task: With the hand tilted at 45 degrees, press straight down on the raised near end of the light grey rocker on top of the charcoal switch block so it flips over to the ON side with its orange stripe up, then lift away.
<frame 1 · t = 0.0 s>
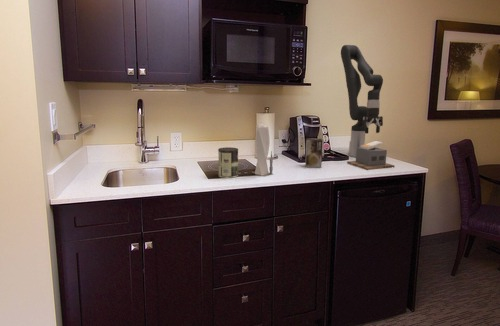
hand: (372, 133, 231), 17 cm above the worktop, tool pointing down, fingers open, 8 cm apart
skyscraper: (262, 175, 194), on the worktop
rocker: (371, 145, 216), point 12 cm above the worktop, hinge at 12.0°
base board: (370, 165, 219), on the worktop
coffee box: (313, 166, 214), on the worktop
switch block: (371, 155, 217), on the base board, point 6 cm above the worktop
coffee can: (228, 176, 190), on the worktop
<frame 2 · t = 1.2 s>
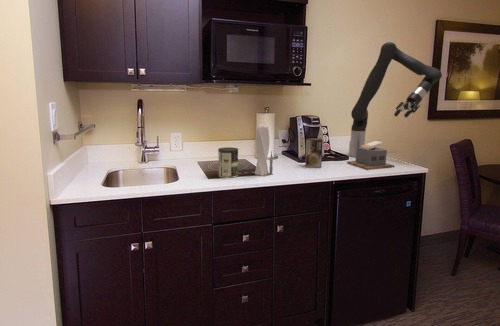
hand: (400, 116, 219), 29 cm above the worktop, tool tilted 45°, fingers open, 7 cm apart
nothing on the worktop moved.
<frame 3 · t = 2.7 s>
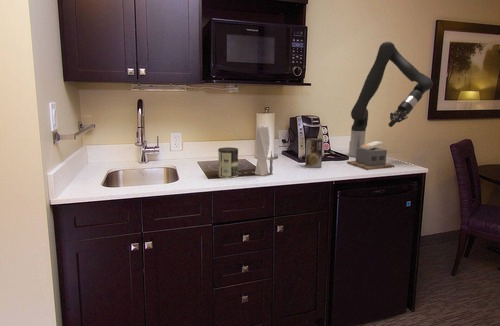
hand: (389, 125, 218), 23 cm above the worktop, tool tilted 45°, fingers closed
nothing on the worktop moved.
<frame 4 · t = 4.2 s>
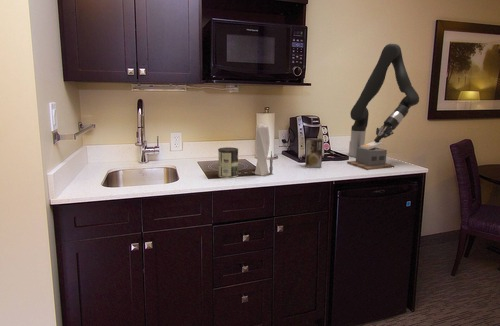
hand: (375, 141, 216), 14 cm above the worktop, tool tilted 45°, fingers closed
rocker: (371, 145, 216), point 12 cm above the worktop, hinge at 12.0°, touching gripper
everything else where it was.
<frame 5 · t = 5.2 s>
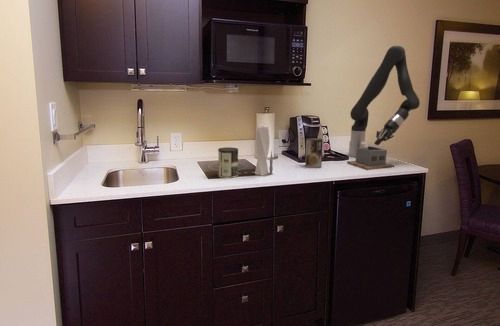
hand: (375, 144, 217), 12 cm above the worktop, tool tilted 45°, fingers closed
rocker: (372, 145, 216), point 12 cm above the worktop, hinge at -14.5°, touching gripper
everything else where it was.
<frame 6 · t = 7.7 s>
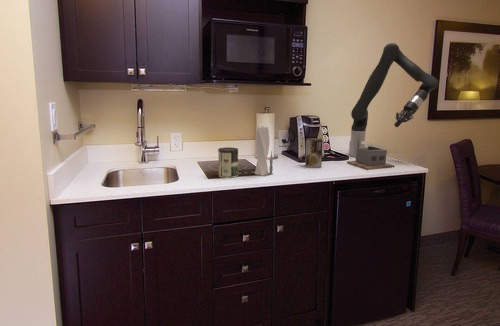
hand: (395, 126, 221), 23 cm above the worktop, tool tilted 45°, fingers closed
rocker: (372, 145, 216), point 12 cm above the worktop, hinge at -15.4°, touching switch block
everything else where it was.
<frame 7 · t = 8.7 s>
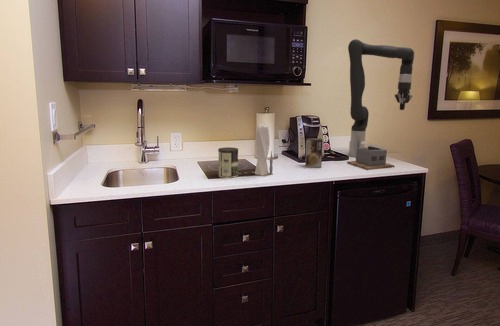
hand: (401, 109, 231), 32 cm above the worktop, tool pointing down, fingers closed
nothing on the worktop moved.
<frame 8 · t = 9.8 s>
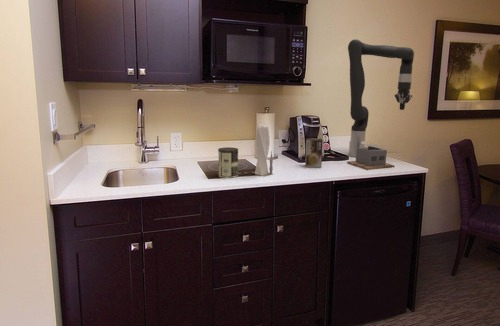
hand: (401, 109, 231), 32 cm above the worktop, tool pointing down, fingers closed
nothing on the worktop moved.
at the end: rocker at -15° (first picture: +12°); coffee box moved 0.2 cm from its start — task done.
